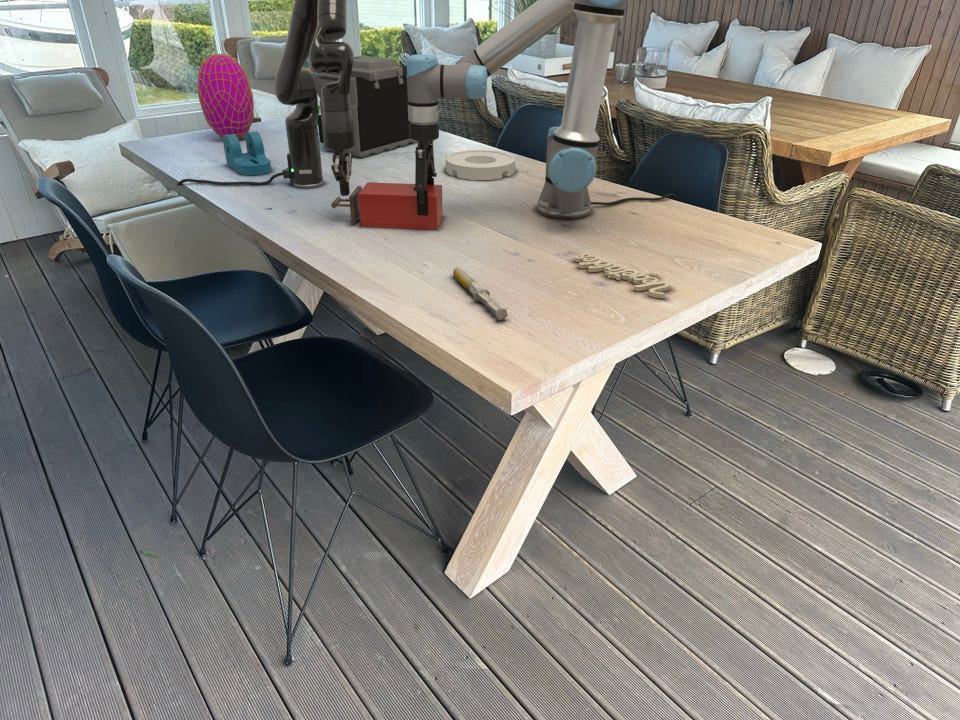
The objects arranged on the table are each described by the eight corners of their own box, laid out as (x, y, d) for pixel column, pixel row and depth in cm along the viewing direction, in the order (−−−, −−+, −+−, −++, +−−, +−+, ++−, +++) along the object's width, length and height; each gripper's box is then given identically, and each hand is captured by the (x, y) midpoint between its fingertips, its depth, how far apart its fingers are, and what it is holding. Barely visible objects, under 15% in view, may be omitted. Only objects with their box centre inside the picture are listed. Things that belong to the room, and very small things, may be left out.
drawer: (330, 221, 182) (327, 195, 179) (339, 210, 190) (337, 185, 187) (422, 224, 181) (421, 199, 177) (428, 213, 189) (427, 188, 185)
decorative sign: (686, 282, 150) (660, 295, 144) (686, 286, 150) (659, 300, 144) (592, 249, 166) (565, 259, 160) (592, 253, 167) (565, 263, 161)
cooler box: (383, 133, 276) (378, 52, 261) (425, 141, 265) (422, 56, 250) (314, 150, 251) (304, 61, 235) (358, 160, 240) (350, 67, 224)
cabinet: (360, 226, 182) (358, 193, 177) (369, 213, 191) (367, 182, 186) (437, 229, 180) (436, 196, 176) (442, 216, 189) (442, 184, 185)
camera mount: (227, 164, 233) (221, 132, 227) (257, 160, 238) (252, 129, 233) (244, 176, 220) (239, 143, 215) (276, 172, 225) (271, 139, 220)
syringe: (449, 274, 155) (449, 263, 153) (465, 272, 156) (464, 260, 154) (490, 323, 135) (491, 310, 133) (508, 319, 136) (508, 307, 134)
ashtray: (448, 160, 240) (448, 149, 238) (514, 162, 240) (514, 150, 238) (443, 179, 220) (443, 166, 218) (515, 180, 220) (515, 168, 218)
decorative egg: (223, 147, 254) (207, 59, 238) (197, 138, 265) (180, 54, 250) (268, 138, 266) (256, 54, 251) (241, 130, 277) (228, 49, 262)
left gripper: (346, 133, 169) (353, 203, 177) (359, 122, 180) (364, 188, 189) (316, 133, 169) (324, 202, 178) (331, 122, 180) (337, 187, 189)
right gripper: (431, 133, 162) (433, 223, 173) (444, 113, 181) (445, 195, 193) (400, 132, 162) (404, 221, 173) (416, 112, 182) (419, 194, 193)
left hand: (345, 195), depth 183 cm, fingers closed
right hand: (426, 208), depth 183 cm, fingers closed on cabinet, 11 cm apart
